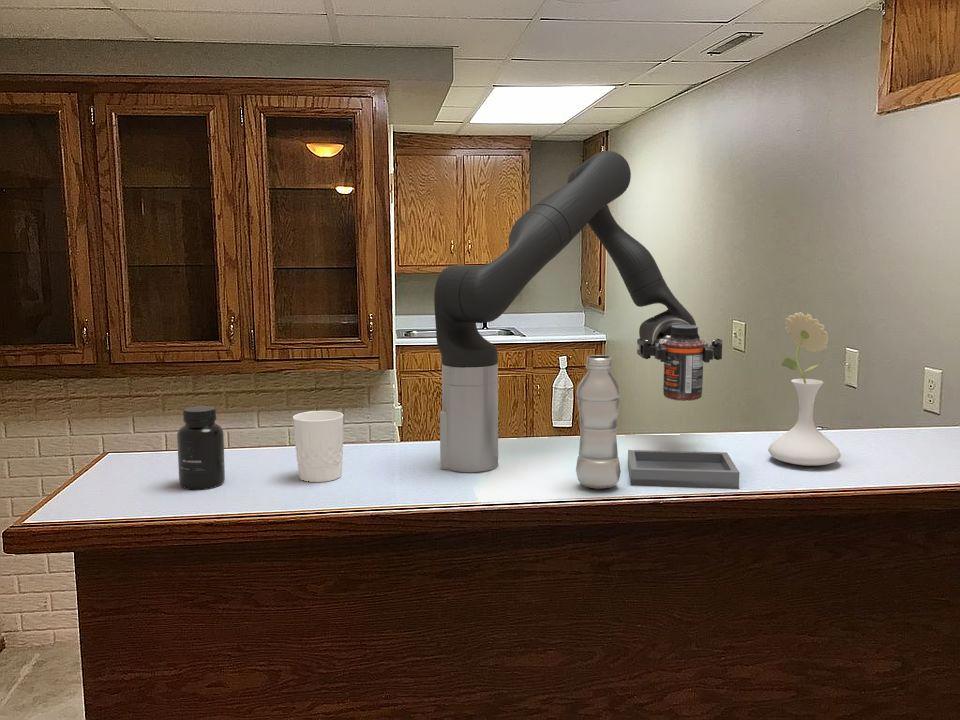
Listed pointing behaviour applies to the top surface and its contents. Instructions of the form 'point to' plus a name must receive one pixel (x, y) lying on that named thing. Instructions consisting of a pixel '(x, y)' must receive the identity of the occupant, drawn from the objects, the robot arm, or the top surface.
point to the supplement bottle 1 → (200, 449)
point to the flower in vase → (805, 401)
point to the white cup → (319, 445)
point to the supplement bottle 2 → (683, 364)
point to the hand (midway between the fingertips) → (685, 355)
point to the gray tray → (682, 469)
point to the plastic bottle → (598, 425)
